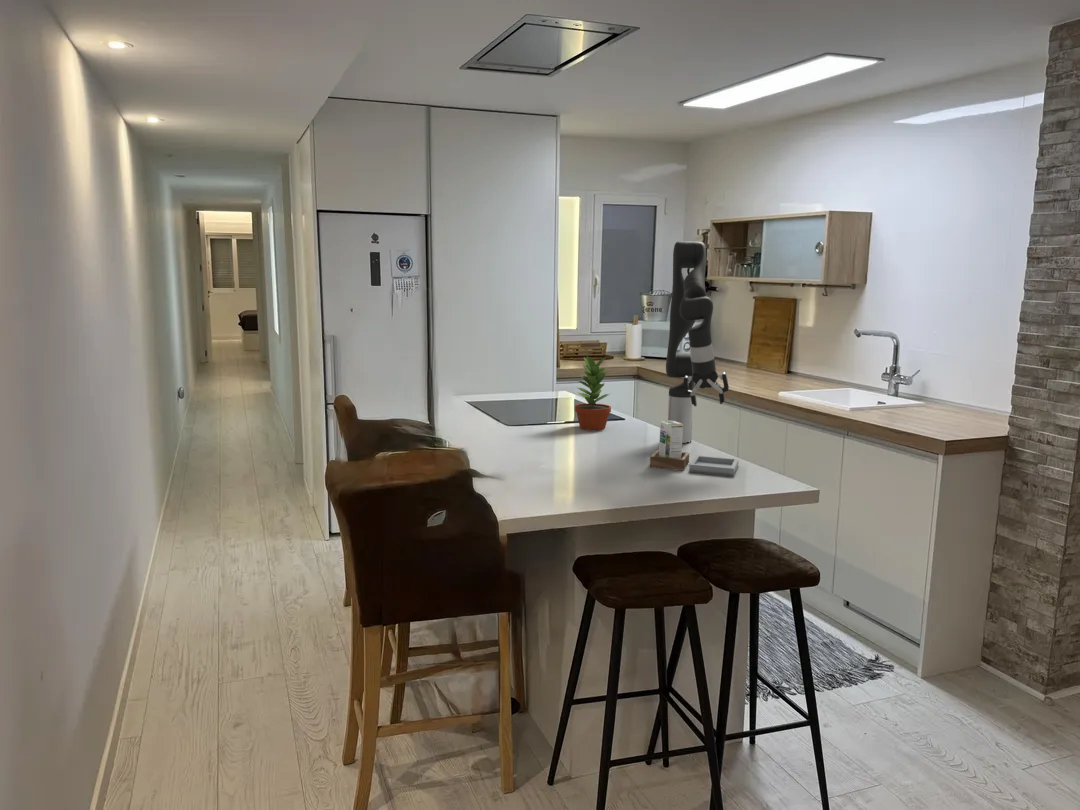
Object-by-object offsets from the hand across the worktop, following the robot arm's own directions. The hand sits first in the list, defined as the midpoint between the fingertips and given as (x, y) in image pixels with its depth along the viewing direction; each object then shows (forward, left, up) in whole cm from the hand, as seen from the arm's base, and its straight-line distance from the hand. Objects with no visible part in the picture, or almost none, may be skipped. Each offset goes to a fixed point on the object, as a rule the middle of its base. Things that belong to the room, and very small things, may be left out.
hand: (708, 404), depth 270 cm
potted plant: (-42, -51, -20) cm, 69 cm away
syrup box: (+8, -11, -20) cm, 24 cm away
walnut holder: (+8, -11, -20) cm, 24 cm away
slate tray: (+8, +4, -20) cm, 22 cm away
